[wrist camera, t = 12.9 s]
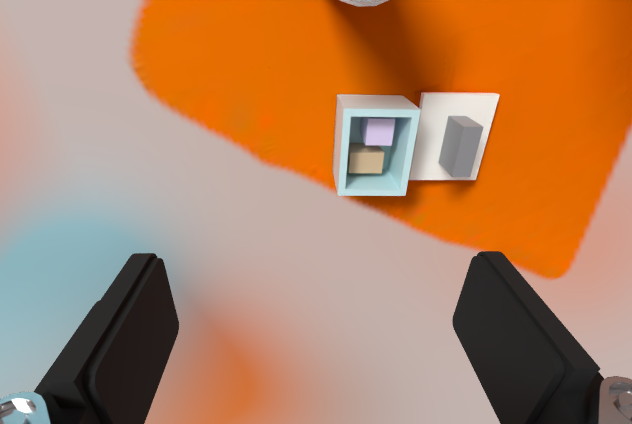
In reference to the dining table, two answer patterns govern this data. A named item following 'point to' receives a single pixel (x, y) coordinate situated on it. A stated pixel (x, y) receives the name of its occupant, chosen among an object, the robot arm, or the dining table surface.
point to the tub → (374, 144)
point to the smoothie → (364, 2)
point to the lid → (451, 135)
